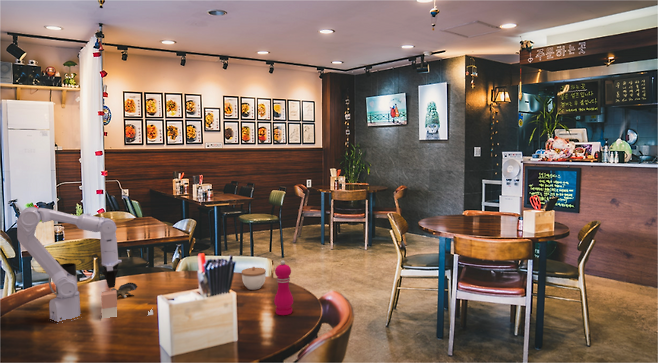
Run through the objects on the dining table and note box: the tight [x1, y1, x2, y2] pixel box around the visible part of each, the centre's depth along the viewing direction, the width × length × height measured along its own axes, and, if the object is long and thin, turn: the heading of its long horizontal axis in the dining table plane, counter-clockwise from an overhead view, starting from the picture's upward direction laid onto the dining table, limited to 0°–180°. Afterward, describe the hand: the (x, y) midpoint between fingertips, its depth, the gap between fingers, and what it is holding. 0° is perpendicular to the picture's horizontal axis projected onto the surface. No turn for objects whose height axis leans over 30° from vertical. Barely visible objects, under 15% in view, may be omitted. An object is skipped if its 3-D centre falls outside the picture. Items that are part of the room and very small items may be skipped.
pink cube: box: [100, 289, 118, 309], centre depth 170 cm, size 5×5×5 cm
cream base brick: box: [100, 306, 118, 319], centre depth 170 cm, size 5×5×4 cm
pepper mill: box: [273, 260, 294, 316], centre depth 172 cm, size 7×7×20 cm
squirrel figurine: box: [110, 281, 138, 299], centre depth 193 cm, size 8×7×9 cm
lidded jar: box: [241, 266, 267, 291], centre depth 205 cm, size 11×11×9 cm
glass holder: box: [48, 262, 79, 298], centre depth 188 cm, size 9×14×15 cm, turn 174°
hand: (111, 284), depth 177 cm, fingers open, 7 cm apart
